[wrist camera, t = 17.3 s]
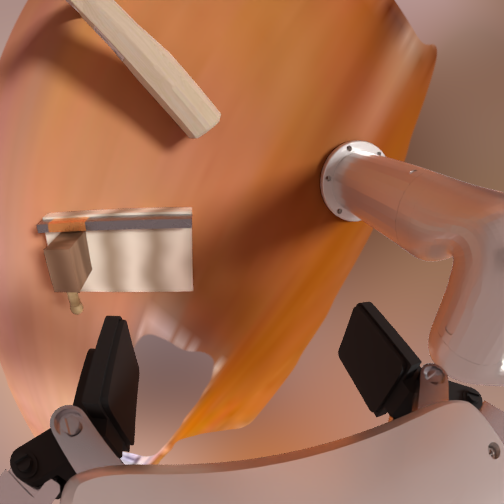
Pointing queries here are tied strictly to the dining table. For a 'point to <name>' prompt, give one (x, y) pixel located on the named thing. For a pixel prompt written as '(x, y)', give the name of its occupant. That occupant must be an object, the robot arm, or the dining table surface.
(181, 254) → the board
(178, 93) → the hammer
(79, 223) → the rail
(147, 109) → the dining table surface
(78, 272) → the brown block with stick
